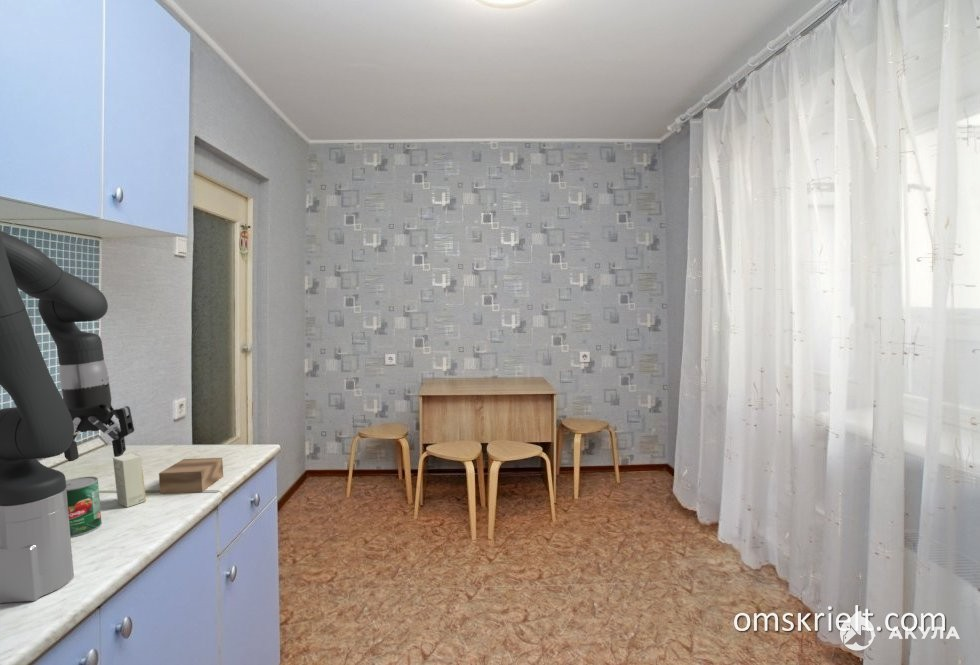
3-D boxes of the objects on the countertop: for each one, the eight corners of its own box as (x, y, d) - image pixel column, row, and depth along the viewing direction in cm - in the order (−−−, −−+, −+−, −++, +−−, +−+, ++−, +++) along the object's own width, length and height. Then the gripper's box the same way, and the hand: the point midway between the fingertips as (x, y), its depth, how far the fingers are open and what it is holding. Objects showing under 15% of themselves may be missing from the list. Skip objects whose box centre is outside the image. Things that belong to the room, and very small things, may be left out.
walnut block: (202, 493, 124) (201, 471, 124) (160, 494, 124) (158, 473, 123) (223, 477, 135) (222, 457, 135) (184, 478, 135) (183, 459, 134)
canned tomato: (97, 517, 110) (94, 473, 109) (105, 527, 105) (101, 481, 104) (52, 531, 104) (48, 484, 103) (58, 542, 99) (54, 493, 98)
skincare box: (146, 501, 119) (143, 456, 118) (126, 508, 115) (122, 461, 114) (136, 496, 122) (132, 452, 121) (115, 502, 118) (112, 457, 118)
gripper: (31, 390, 90) (44, 468, 92) (113, 384, 93) (124, 460, 95) (59, 382, 98) (70, 455, 100) (134, 377, 100) (143, 447, 102)
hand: (96, 457), depth 97 cm, fingers open, 8 cm apart
